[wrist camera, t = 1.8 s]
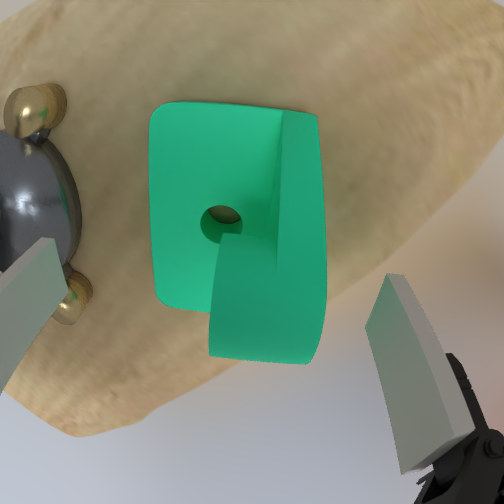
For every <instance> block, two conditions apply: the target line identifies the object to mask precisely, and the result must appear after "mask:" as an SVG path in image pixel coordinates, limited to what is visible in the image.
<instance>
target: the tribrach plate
mask: <svg viewBox="0 0 504 504" xmlns="http://www.w3.org/2000/svg"><path fill="white" fill-rule="evenodd" d="M65 111H66V96H65V93H64V91H63V90H62V88H61V87H60V86H58V85H56V84H44V85H37V86H30V87H24V88H18V89H16V90H15V91H13V92H12V93H11V94H10V96H9V97H8V99H7V101H6V104H5V108H4V124H5V127H6V129H4V130H1V131H0V270H1V271H2V272H3V273H4V272H5V271H6V270H7V269H8V268H9V267H10V266H11V265H12V264H13V263H14V262H15V261H16V260H17V259H18V258H19V257H21V256H22V255H23V254H24V253H25V252H26V251H27V250H28V249H29V248H30V247H31V246H32V245H33V244H35V243H36V242H37V241H38V240H39V239H40V238H41V237H45V238H53V239H54V240H55V244H56V248H57V252H58V256H59V260H60V263H61V267H62V271H63V274H64V277H65V281H66V284H67V287H68V291H69V292H68V294H67V295H66V296H65V297H64V299H63V300H62V301H61V303H60V304H59V305H58V307H57V308H56V310H55V311H54V312H53V314H52V315H51V316H52V317H53V318H54V319H55V320H57V321H58V322H60V323H62V324H65V325H72V324H74V323H75V322H76V320H77V319H78V317H79V315H80V314H81V312H82V311H83V309H84V308H85V306H86V304H87V303H88V301H89V300H90V298H91V297H92V293H93V291H92V287H91V284H90V283H89V281H88V280H87V279H86V278H85V277H84V276H83V275H82V274H80V273H79V272H77V271H73V270H72V268H71V267H70V265H69V264H68V263H67V262H68V261H69V260H70V259H71V258H72V256H73V255H74V253H75V251H76V249H77V246H78V244H79V240H80V235H81V227H82V216H81V206H80V201H79V196H78V192H77V189H76V185H75V182H74V180H73V177H72V174H71V172H70V170H69V168H68V166H67V164H66V162H65V161H64V159H63V157H62V156H61V154H60V153H59V152H58V150H57V149H56V148H55V146H54V145H53V144H52V143H51V142H50V141H49V140H48V139H47V137H48V134H49V131H50V128H53V127H55V126H56V125H58V124H59V123H60V121H61V120H62V118H63V116H64V114H65Z"/></svg>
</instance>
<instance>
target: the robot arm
mask: <svg viewBox="0 0 504 504" xmlns="http://www.w3.org/2000/svg"><path fill="white" fill-rule="evenodd" d="M68 292H69V291H68V287H67V284H66V281H65V277H64V274H63V271H62V267H61V263H60V260H59V256H58V252H57V248H56V244H55V240H54V239H53V238H45V237H41V238H40V239H39V240H38V241H37V242H36V243H35V244H33V245H32V246H31V247H30V248H29V249H28V250H27V251H26V252H25V253H24V254H23V255H22V256H21V257H19V258H18V259H17V260H16V261H15V262H14V263H13V264H12V265H11V266H10V267H9V268H8V269H7V270H6V271H5V272H4V273H3V274H2V275H1V276H0V394H1V393H2V391H3V389H4V387H5V386H6V384H7V382H8V381H9V379H10V377H11V375H12V374H13V372H14V371H15V369H16V367H17V366H18V364H19V362H20V361H21V359H22V358H23V356H24V355H25V353H26V351H27V350H28V348H29V347H30V345H31V344H32V342H33V341H34V339H35V338H36V336H37V335H38V333H39V332H40V331H41V329H42V328H43V326H44V325H45V323H46V322H47V321H48V319H49V318H50V316H51V315H52V314H53V312H54V311H55V310H56V308H57V307H58V305H59V304H60V303H61V301H62V300H63V299H64V297H65V296H66V295H67V294H68ZM365 329H366V332H367V336H368V339H369V342H370V346H371V349H372V353H373V356H374V360H375V363H376V367H377V370H378V374H379V378H380V381H381V385H382V389H383V393H384V397H385V401H386V405H387V409H388V413H389V417H390V422H391V426H392V431H393V435H394V440H395V445H396V450H397V455H398V460H399V465H400V471H401V475H405V474H409V473H414V472H418V471H422V470H423V469H425V468H426V467H428V466H429V465H431V464H433V468H434V470H433V471H431V472H430V473H428V474H427V475H425V476H424V477H422V478H421V479H419V481H418V482H417V483H416V484H418V485H419V484H421V483H423V482H424V481H426V482H425V484H424V485H423V486H422V487H423V488H422V489H421V492H420V493H419V495H418V497H417V499H416V500H415V502H414V504H504V436H503V435H502V434H501V433H500V432H499V431H498V430H494V429H489V428H488V426H487V424H486V421H485V418H484V416H483V413H482V411H481V408H480V405H479V403H478V401H477V399H476V396H475V393H474V391H473V390H472V389H471V387H472V386H471V384H470V382H469V380H468V379H467V375H466V373H465V371H464V368H463V366H462V364H461V363H460V362H459V361H458V360H457V358H456V357H455V356H454V355H453V354H452V353H446V354H445V353H444V350H443V349H442V346H441V344H440V342H439V340H438V338H437V336H436V334H435V332H434V330H433V328H432V326H431V324H430V322H429V320H428V318H427V316H426V314H425V312H424V310H423V308H422V307H421V305H420V303H419V301H418V299H417V298H416V296H415V294H414V292H413V290H412V288H411V287H410V285H409V283H408V281H407V280H406V278H405V276H404V275H399V274H386V276H385V279H384V282H383V284H382V287H381V289H380V292H379V295H378V297H377V300H376V302H375V305H374V307H373V309H372V312H371V314H370V317H369V319H368V321H367V324H366V326H365Z"/></svg>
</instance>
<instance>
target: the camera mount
mask: <svg viewBox="0 0 504 504" xmlns="http://www.w3.org/2000/svg"><path fill="white" fill-rule="evenodd" d="M217 205H224V206H228V207H230V208H232V209H234V210H235V211H236V212H237V213H238V214H239V215H240V217H241V219H240V220H239V221H237V222H235V223H232V224H223V223H220V222H218V221H216V220H215V219H214V218H213V217H212V216H211V215H210V213H209V210H208V209H209V208H211V207H213V206H217ZM149 208H150V230H151V246H152V260H153V272H154V283H155V292H156V296H157V298H158V299H159V300H160V301H161V302H162V303H163V304H165V305H166V306H169V307H173V308H180V309H187V310H194V311H202V312H209V313H210V323H209V355H210V356H213V357H221V358H230V359H239V360H249V361H260V362H273V363H287V364H308V363H309V362H310V361H311V360H312V358H313V356H314V354H315V352H316V349H317V347H318V344H319V341H320V337H321V333H322V328H323V323H324V317H325V310H326V299H327V254H326V227H325V207H324V191H323V177H322V164H321V153H320V142H319V132H318V123H317V116H315V115H313V114H310V113H304V112H298V111H291V110H284V109H277V108H269V107H261V106H252V105H241V104H229V103H215V102H195V101H176V102H171V103H166V104H163V105H161V106H159V107H158V108H157V109H156V110H155V111H154V112H153V114H152V116H151V118H150V122H149Z"/></svg>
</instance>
